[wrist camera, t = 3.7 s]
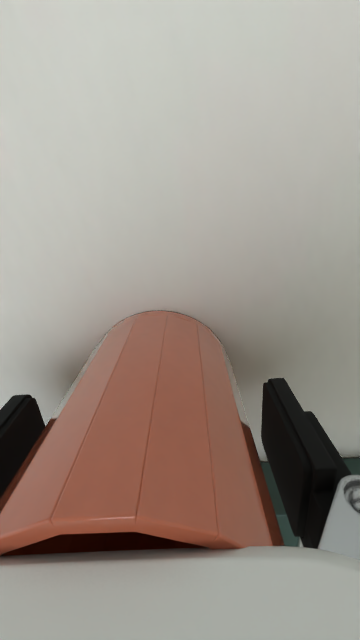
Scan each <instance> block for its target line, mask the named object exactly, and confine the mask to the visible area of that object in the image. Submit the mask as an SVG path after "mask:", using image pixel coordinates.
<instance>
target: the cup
mask: <svg viewBox="0 0 360 640" xmlns="http://www.w3.org/2000/svg"><path fill="white" fill-rule="evenodd" d="M249 546H285V545H284V542H283V538H282V535H281V531H280V528H279V525H278V521H277V518H276V514H275V511H274V508H273V504H272V501H271V497H270V494H269V491H268V487H267V484H266V480H265V477H264V474H263V470H262V467H261V464H260V460H259V457H258V453H257V450H256V447H255V443H254V440H253V436H252V433H251V430H250V426H249V423H248V419H247V416H246V413H245V409H244V406H243V402H242V399H241V396H240V392H239V389H238V386H237V382H236V379H235V375H234V372H233V369H232V365H231V363H230V361H229V359H228V356H227V353H226V351H225V348H224V346H223V345H222V343H221V341H220V340H219V339H218V337H217V336H216V335H215V334H214V333H213V332H212V331H211V330H210V329H209V328H208V327H206V326H205V325H204V324H202V323H201V322H199V321H197V320H195V319H193V318H191V317H189V316H186V315H183V314H179V313H175V312H169V311H150V312H143V313H139V314H136V315H133V316H130V317H128V318H126V319H124V320H122V321H121V322H119V323H117V324H116V325H115V326H114V327H112V328H111V329H110V330H109V331H108V332H107V333H106V334H105V336H104V337H103V339H102V340H101V341H100V343H99V344H98V345H97V347H96V348H95V349H94V351H93V352H92V354H91V355H90V357H89V359H88V360H87V362H86V363H85V365H84V367H83V368H82V370H81V371H80V373H79V375H78V376H77V378H76V379H75V381H74V382H73V384H72V386H71V387H70V389H69V390H68V392H67V394H66V395H65V397H64V398H63V400H62V402H61V403H60V405H59V406H58V408H57V410H56V411H55V413H54V414H53V416H52V417H51V419H50V421H49V422H48V424H47V425H46V427H45V429H44V430H43V432H42V433H41V435H40V437H39V438H38V440H37V441H36V443H35V445H34V446H33V448H32V449H31V451H30V452H29V454H28V456H27V457H26V459H25V460H24V462H23V464H22V465H21V467H20V468H19V470H18V472H17V473H16V475H15V476H14V478H13V480H12V481H11V483H10V484H9V486H8V488H7V489H6V491H5V492H4V494H3V495H2V497H1V499H0V556H8V555H29V554H50V553H73V552H97V551H121V550H146V549H174V548H203V547H207V548H209V549H212V550H215V549H240V548H246V547H249Z"/></svg>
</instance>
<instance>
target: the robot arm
mask: <svg viewBox="0 0 360 640" xmlns="http://www.w3.org/2000/svg"><path fill="white" fill-rule="evenodd" d="M44 429H45V424H44V421H43V419H42V416H41V413H40V410H39V407H38V404H37V402H36V399H35V398H32V396H31V395H15V396H13V397H11V399H10V400H9V401H8V402H7V403H6V404H5V405H4V406H3V407H2V409H1V410H0V499H1V497H2V495H3V494H4V492H5V491H6V489H7V488H8V486H9V484H10V483H11V481H12V480H13V478H14V476H15V475H16V473H17V472H18V470H19V468H20V467H21V465H22V464H23V462H24V460H25V459H26V457H27V456H28V454H29V452H30V451H31V449H32V448H33V446H34V445H35V443H36V441H37V440H38V438H39V437H40V435H41V433H42V432H43V430H44ZM261 438H262V443H263V446H264V449H265V452H266V455H267V458H268V461H269V464H270V467H271V470H272V473H273V476H274V479H275V482H276V485H277V488H278V491H279V494H280V497H281V500H282V503H283V506H284V509H285V512H286V515H287V517H288V520H289V523H290V526H291V529H292V532H293V534H294V536H295V537H300V539H301V542H302V544H303V547H289V546H249V547H246V548H240V549H215V550H212V549H209V548H207V547H203V548H174V549H146V550H121V551H97V552H73V553H50V554H29V555H8V556H0V640H360V475H352V474H351V472H350V470H349V469H348V467H347V466H346V464H345V462H344V461H343V459H342V458H341V456H340V455H339V453H338V451H337V450H336V448H335V447H334V445H333V443H332V442H331V440H330V439H329V437H328V436H327V434H326V432H325V431H324V429H323V428H322V426H321V425H320V423H319V421H318V420H317V418H316V417H315V415H314V414H313V413H312V412H311V411H306V412H304V411H303V409H302V407H301V406H300V404H299V402H298V401H297V399H296V397H295V396H294V394H293V392H292V391H291V389H290V387H289V386H288V384H287V382H286V380H285V379H284V378H274V379H268V383H264V384H263V403H262V429H261Z"/></svg>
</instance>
